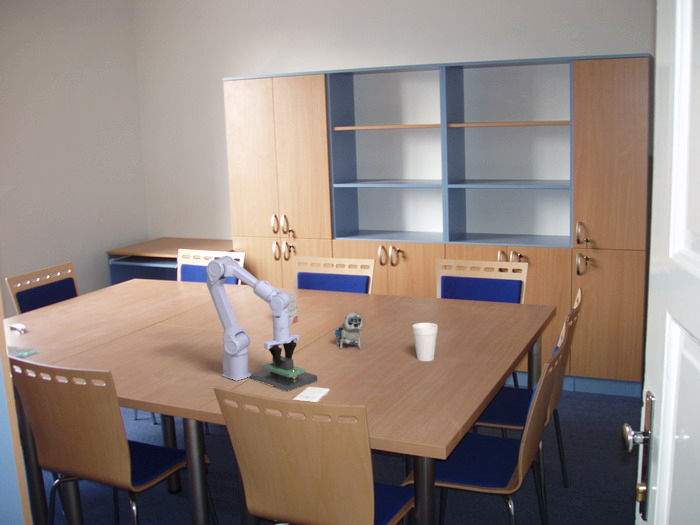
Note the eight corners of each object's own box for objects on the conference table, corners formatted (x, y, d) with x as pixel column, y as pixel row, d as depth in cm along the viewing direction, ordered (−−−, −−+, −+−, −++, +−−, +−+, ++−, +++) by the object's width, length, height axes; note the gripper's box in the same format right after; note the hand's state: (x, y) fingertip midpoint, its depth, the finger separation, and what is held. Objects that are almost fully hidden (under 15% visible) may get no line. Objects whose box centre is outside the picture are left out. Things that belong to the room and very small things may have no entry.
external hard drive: (329, 393, 251) (315, 406, 240) (307, 390, 254) (292, 403, 243) (329, 388, 251) (314, 401, 240) (307, 386, 254) (291, 398, 242)
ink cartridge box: (289, 320, 349) (288, 289, 346) (298, 321, 346) (296, 290, 343) (278, 324, 342) (276, 293, 339) (286, 326, 339) (285, 294, 336)
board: (262, 368, 267) (261, 356, 266) (277, 364, 271) (277, 352, 271) (289, 377, 256) (288, 365, 255) (304, 372, 261) (304, 360, 260)
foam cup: (410, 361, 281) (409, 328, 278) (417, 354, 289) (416, 321, 287) (434, 363, 277) (433, 329, 275) (440, 356, 286) (440, 323, 283)
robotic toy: (340, 353, 293) (339, 317, 291) (332, 342, 310) (331, 307, 307) (372, 350, 296) (370, 314, 293) (362, 339, 313) (361, 304, 310)
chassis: (251, 379, 266) (250, 365, 266) (281, 369, 276) (280, 356, 275) (286, 391, 252) (286, 377, 252) (317, 381, 262) (316, 367, 261)
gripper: (272, 333, 253) (274, 371, 255) (304, 324, 263) (306, 361, 265) (259, 329, 258) (261, 367, 260) (291, 321, 268) (293, 357, 270)
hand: (283, 363), depth 263 cm, fingers open, 4 cm apart
